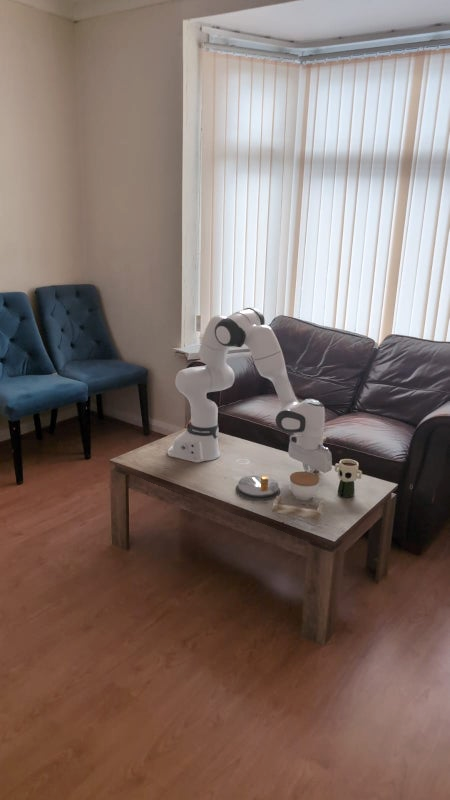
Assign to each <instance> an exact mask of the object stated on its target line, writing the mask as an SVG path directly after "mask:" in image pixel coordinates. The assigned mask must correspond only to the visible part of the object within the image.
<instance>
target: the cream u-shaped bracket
mask: <svg viewBox="0 0 450 800" xmlns="http://www.w3.org/2000/svg"><path fill="white" fill-rule="evenodd" d="M281 502H282V496H281V495H279V496H277V497H276V498H274V501H273V504H272V507H271V508H272V509H271V512H272V513H278V514H279V513H280V514H284V515H290V516H296V517H303V518H310V519H315V520H321V518H322V515H323V513H324V512H323V511H324V509H325V508H324V505H325V504H324V502H320V501H319V503H318V507H317V509H310V508H304V507H300V506H299V507H298V506H292V505H287V504H286V505H285V504H281Z"/></svg>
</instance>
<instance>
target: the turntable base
mask: <svg viewBox="0 0 450 800" xmlns="http://www.w3.org/2000/svg"><path fill="white" fill-rule="evenodd" d="M235 493H236V494H237V495H238V496H240V497H241V498H244V499H245V500H246V499H247V500H250V501H256V502H257V501H260V502H262V501H264V502H265V501H272V500H275V499H276V497H277V496H281V493H282V490H281V488H280V487H279V486H278V492H277V493H276V494H275V495H273V496H271V497H266V498H255V497H250V496H246V495H244V494H242V493H241V492H240V491H239V490H238V484H236V486H235Z"/></svg>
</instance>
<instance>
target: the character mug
mask: <svg viewBox="0 0 450 800" xmlns="http://www.w3.org/2000/svg"><path fill="white" fill-rule="evenodd" d="M338 462H339V463H335V465H334V471H335V472H336V473H337V476H338V478H339V483H338V488H337V494H338V496H342V497H346V498H349V497H350V498H351V497H353V496H354V495H355V489H356V488H355V482H354V481H356V480H357V479H358V480H361V479H362V475H363V471H362V470H360V469H359V466H360V465H359V462H358V461H357V460H354V459H351V458H344V459H343V458H342V459H340V461H338Z"/></svg>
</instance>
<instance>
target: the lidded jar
mask: <svg viewBox="0 0 450 800" xmlns="http://www.w3.org/2000/svg"><path fill="white" fill-rule="evenodd" d="M319 482H320V477H319V476H318V475H317V474H315V473H314V472H313V473H310V472H305V471H296V472H292V473H291V474H290V475H289V487H290V491H291V493H292V494H293V496H294V497H295V498H296V500H297V499H298V500H300V501H301V500H302V501H308V500H311V499H312V497H314V496H315V494H316V493H317V492H318V489H319Z"/></svg>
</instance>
